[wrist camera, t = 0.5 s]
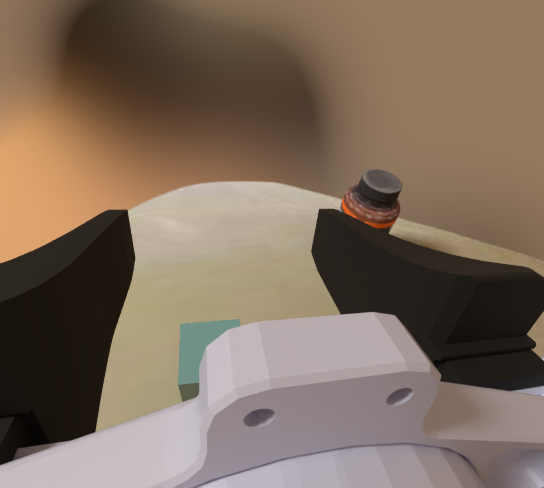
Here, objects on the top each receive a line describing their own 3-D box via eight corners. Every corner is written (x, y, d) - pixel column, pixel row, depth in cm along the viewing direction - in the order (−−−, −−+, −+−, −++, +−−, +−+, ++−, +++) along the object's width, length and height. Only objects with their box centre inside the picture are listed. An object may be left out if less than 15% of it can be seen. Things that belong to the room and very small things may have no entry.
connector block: (238, 412, 25) (244, 377, 19) (187, 419, 24) (178, 384, 18) (234, 363, 28) (239, 319, 22) (188, 368, 27) (180, 323, 21)
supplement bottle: (381, 263, 38) (426, 190, 30) (345, 281, 36) (384, 206, 27) (349, 232, 42) (382, 158, 33) (314, 246, 39) (341, 169, 31)
